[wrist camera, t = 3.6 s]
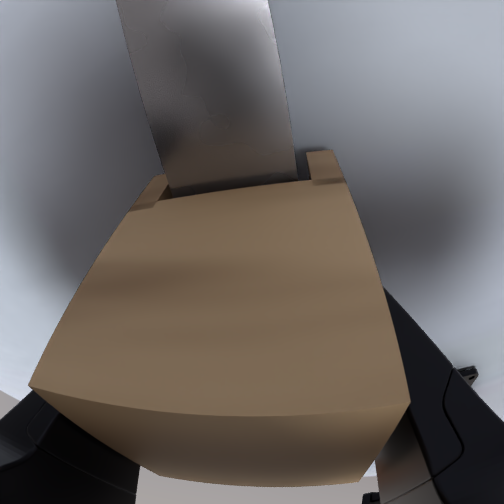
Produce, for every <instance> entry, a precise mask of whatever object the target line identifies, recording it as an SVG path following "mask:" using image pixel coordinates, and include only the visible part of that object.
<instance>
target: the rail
mask: <svg viewBox="0 0 504 504" xmlns="http://www.w3.org/2000/svg"><path fill="white" fill-rule="evenodd" d="M116 2H117V7H118V11H119V15H120V19H121V23H122V27H123V31H124V35H125V39H126V43H127V47H128V51H129V55H130V58H131V62H132V66H133V69H134V73H135V77H136V80H137V84H138V87H139V91H140V94H141V98H142V101H143V104H144V108H145V111H146V115H147V118H148V121H149V124H150V128H151V131H152V134H153V137H154V141H155V144H156V147H157V150H158V153H159V156H160V159H161V163H162V166H163V169H164V172H165V175H166V178H167V181H168V184H169V187H170V190H171V193H172V195H173V198H179V197H185V196H191V195H198V194H204V193H211V192H218V191H224V190H231V189H239V188H246V187H254V186H262V185H270V184H278V183H287V182H296V181H298V173H297V165H296V158H295V151H294V144H293V137H292V130H291V123H290V117H289V110H288V104H287V98H286V92H285V86H284V80H283V74H282V69H281V63H280V58H279V52H278V47H277V42H276V37H275V32H274V26H273V22H272V17H271V12H270V7H269V2H268V0H116Z"/></svg>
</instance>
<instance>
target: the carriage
mask: <svg viewBox="0 0 504 504" xmlns="http://www.w3.org/2000/svg"><path fill="white" fill-rule="evenodd" d="M306 156H307V164H308V173H309V180H305V181H296V182H287V183H278V184H270V185H262V186H254V187H246V188H239V189H231V190H224V191H218V192H211V193H204V194H198V195H191V196H185V197H179V198H173V195H172V193H171V190H170V187H169V184H168V181H167V178H166V175H165V174H161V175H157V176H154V177H153V179H152V180H151V181H150V182H149V184H148V185H147V186H146V188H145V189H144V190H143V192H142V193H141V194H140V196H139V197H138V199H137V200H136V201H135V203H134V204H133V205H132V207H131V208H130V210H129V211H128V212H127V214H126V215H125V217H124V218H123V220H122V221H121V222H120V224H119V225H118V227H117V228H116V230H115V231H114V233H113V234H112V236H111V237H110V239H109V240H108V242H107V243H106V245H105V246H104V248H103V249H102V251H101V252H100V254H99V255H98V257H97V258H96V260H95V262H94V263H93V265H92V266H91V268H90V270H89V271H88V273H87V275H86V276H85V278H84V279H83V281H82V283H81V284H80V286H79V288H78V289H77V291H76V293H75V295H74V296H73V298H72V300H71V302H70V303H69V305H68V307H67V309H66V310H65V312H64V314H63V316H62V318H61V319H60V321H59V323H58V325H57V327H56V329H55V331H54V333H53V334H52V336H51V338H50V340H49V342H48V344H47V346H46V348H45V350H44V352H43V354H42V356H41V358H40V360H39V362H38V365H37V367H36V369H35V371H34V373H33V375H32V377H31V380H30V382H29V384H28V386H29V387H30V388H31V389H33V390H34V391H35V392H36V393H37V394H38V395H39V396H41V397H42V398H43V399H44V400H45V401H47V402H48V403H49V404H50V405H52V406H53V407H54V408H55V409H57V410H58V411H59V412H60V413H62V414H63V415H64V416H66V417H67V418H68V419H70V420H71V421H72V422H74V423H75V424H76V425H78V426H79V427H81V428H82V429H83V430H85V431H86V432H88V433H89V434H91V435H92V436H93V437H95V438H96V439H98V440H99V441H101V442H102V443H104V444H106V445H107V446H109V447H110V448H112V449H113V450H115V451H117V452H118V453H120V454H122V455H123V456H125V457H127V458H128V459H130V460H132V461H134V462H135V463H137V464H139V465H141V466H142V467H144V468H146V469H148V470H150V471H152V472H154V473H156V474H157V475H159V476H164V477H169V478H175V479H182V480H189V481H196V482H204V483H213V484H224V485H237V486H256V487H301V486H321V485H333V484H344V483H353V482H359V480H360V479H361V478H362V477H363V475H364V474H365V472H366V471H367V470H368V468H369V467H370V466H371V464H372V463H373V461H374V460H375V458H376V457H377V456H378V454H379V453H380V451H381V450H382V448H383V447H384V445H385V444H386V442H387V440H388V439H389V437H390V436H391V434H392V433H393V431H394V429H395V428H396V426H397V424H398V423H399V421H400V420H401V418H402V416H403V414H404V413H405V411H406V409H407V407H408V406H409V404H410V402H411V401H410V396H409V391H408V386H407V381H406V376H405V372H404V367H403V363H402V358H401V354H400V350H399V346H398V342H397V338H396V334H395V330H394V326H393V322H392V318H391V315H390V311H389V307H388V304H387V300H386V297H385V293H384V290H383V287H382V283H381V280H380V277H379V274H378V270H377V267H376V264H375V261H374V258H373V255H372V252H371V249H370V246H369V243H368V240H367V237H366V234H365V232H364V229H363V226H362V223H361V220H360V218H359V215H358V212H357V210H356V207H355V204H354V202H353V199H352V196H351V194H350V191H349V189H348V186H347V184H346V181H345V179H344V176H343V174H342V171H341V169H340V167H339V164H338V162H337V159H336V157H335V155H334V152H333V150H324V151H313V152H306Z"/></svg>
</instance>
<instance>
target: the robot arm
mask: <svg viewBox="0 0 504 504" xmlns="http://www.w3.org/2000/svg"><path fill="white" fill-rule="evenodd" d="M382 287H383V286H382ZM383 290H384V293H385V297H386V300H387V304H388V307H389V311H390V315H391V318H392V322H393V326H394V330H395V334H396V338H397V342H398V346H399V350H400V354H401V358H402V363H403V367H404V372H405V376H406V381H407V386H408V391H409V396H410V401H411V402H410V404H409V406H408V407H407V409H406V411H405V413H404V414H403V416H402V418H401V420H400V421H399V423H398V424H397V426H396V428H395V429H394V431H393V433H392V434H391V436H390V437H389V439H388V440H387V442H386V444H385V445H384V447H383V448H382V450H381V451H380V453H379V454H378V456H377V457H376V458H375V465H376V472H377V478H378V487H379V492H371V493H365V494H363V499H362V504H504V422H503V421H502V420H501V419H500V418H499V417H498V416H497V415H496V414H495V413H494V412H493V411H492V409H491V408H490V407H489V406H488V405H487V404H486V403H485V402H484V401H483V400H482V399H481V398H480V397H479V396H478V394H477V393H476V392H475V391H474V390H473V389H472V387H471V385H472V384H473V382H474V381H475V380H476V378H477V377H478V371H477V369H470V370H466V371H462V372H458V371H457V369H456V368H453V365H452V364H451V362H450V361H449V360H448V359H447V358H446V356H445V355H444V354H443V353H442V352H441V351H440V349H439V348H438V347H437V346H436V345H435V344H434V342H433V341H432V340H431V339H430V338H429V337H428V336H427V334H426V333H425V332H424V331H423V330H422V329H421V328H420V326H419V325H418V324H417V323H416V322H415V321H414V320H413V319H412V317H411V316H410V315H409V314H408V313H407V312H406V311H405V310H404V309H403V308H402V306H401V305H400V304H399V303H398V302H397V301H396V300H395V299H394V298H393V297H392V296H391V295H390V293H389V292H388V291H387V290H386V289H385V288H384V287H383ZM139 470H140V465H139V464H137V463H135V462H134V461H132V460H130V459H128V458H127V457H125V456H123V455H122V454H120V453H118V452H117V451H115V450H113V449H112V448H110V447H109V446H107V445H106V444H104V443H102V442H101V441H99V440H98V439H96V438H95V437H93V436H92V435H91V434H89V433H88V432H86V431H85V430H83V429H82V428H81V427H79V426H78V425H76V424H75V423H74V422H72V421H71V420H70V419H68V418H67V417H66V416H64V415H63V414H62V413H60V412H59V411H58V410H57V409H55V408H54V407H53V406H52V405H50V404H49V403H48V402H47V401H45V400H44V399H43V398H42V397H41V396H39V395H38V394H37V393H36V392H35V391H34V390H32V391H31V392H30V393H29V394H28V395H27V396H26V397H25V398H24V399H23V400H21V401H20V402H19V403H18V404H17V405H16V406H15V407H14V408H13V409H12V410H10V411H9V412H8V413H7V414H6V415H5V416H4V417H3V418H2V419H0V504H135V501H136V492H137V484H138V477H139Z"/></svg>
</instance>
